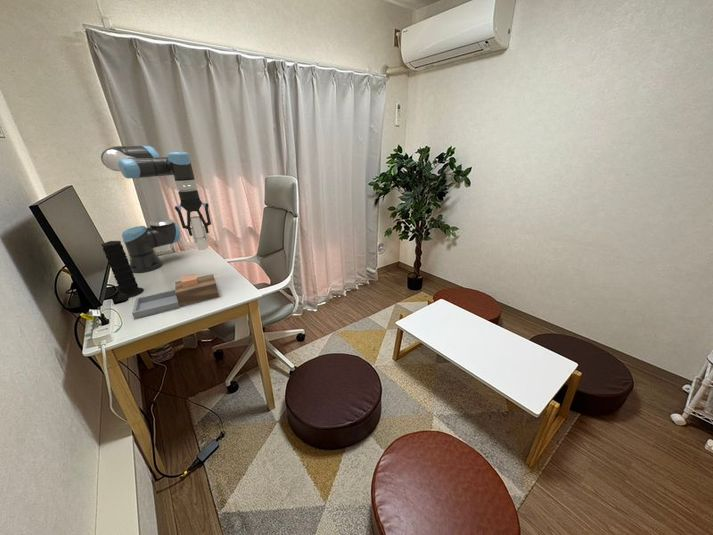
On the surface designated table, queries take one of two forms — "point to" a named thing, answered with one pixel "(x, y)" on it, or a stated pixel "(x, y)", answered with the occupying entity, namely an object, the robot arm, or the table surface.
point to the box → (155, 304)
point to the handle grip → (121, 269)
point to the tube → (199, 232)
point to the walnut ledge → (197, 291)
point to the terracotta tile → (189, 281)
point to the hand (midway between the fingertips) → (201, 240)
